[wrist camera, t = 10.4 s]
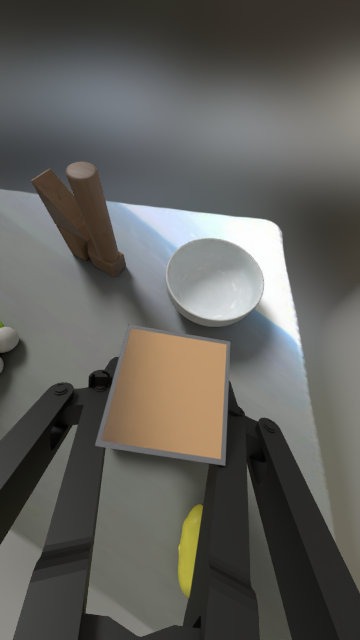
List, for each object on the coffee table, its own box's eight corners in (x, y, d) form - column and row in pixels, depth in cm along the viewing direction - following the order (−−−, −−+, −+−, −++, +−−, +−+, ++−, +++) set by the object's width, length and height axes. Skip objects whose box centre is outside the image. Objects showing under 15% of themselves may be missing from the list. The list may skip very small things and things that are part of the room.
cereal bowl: (208, 250, 44) (217, 223, 37) (263, 302, 40) (284, 283, 33) (146, 288, 38) (144, 265, 32) (203, 354, 34) (214, 342, 28)
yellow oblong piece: (168, 577, 23) (171, 609, 20) (185, 494, 26) (190, 508, 23) (202, 587, 23) (211, 621, 20) (215, 503, 26) (224, 518, 23)
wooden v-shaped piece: (83, 242, 41) (33, 133, 24) (126, 266, 40) (105, 168, 23) (71, 254, 39) (9, 146, 23) (115, 278, 38) (84, 184, 22)
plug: (135, 419, 21) (94, 446, 8) (146, 368, 23) (128, 324, 10) (185, 427, 21) (225, 465, 8) (191, 375, 23) (230, 341, 10)
